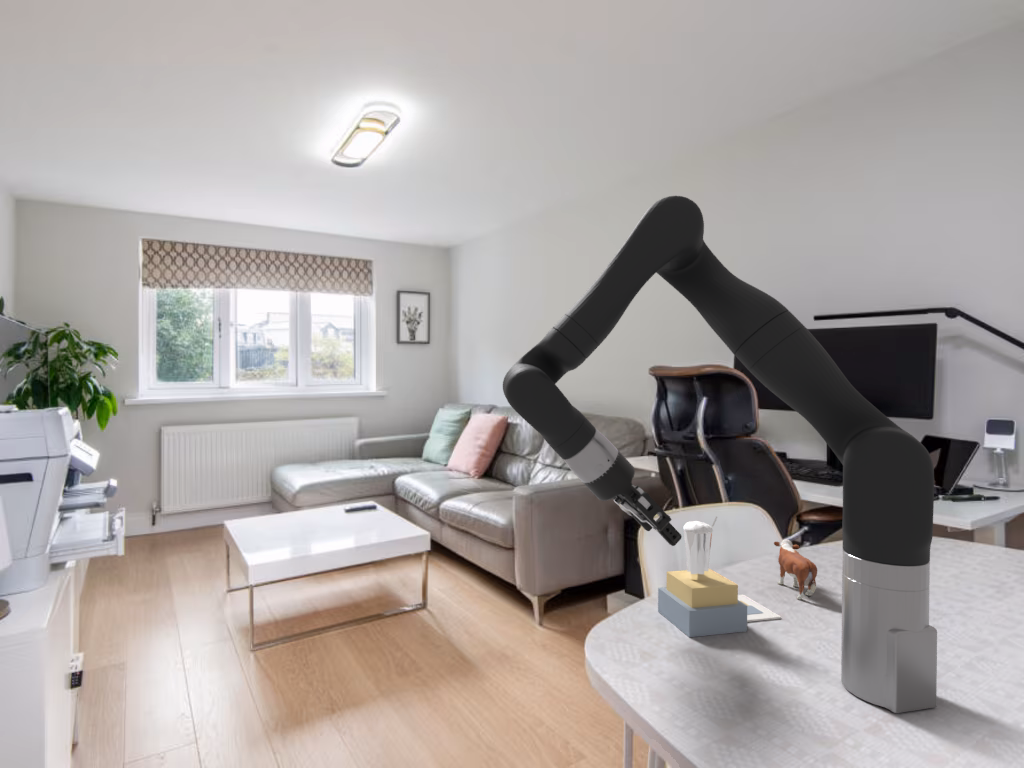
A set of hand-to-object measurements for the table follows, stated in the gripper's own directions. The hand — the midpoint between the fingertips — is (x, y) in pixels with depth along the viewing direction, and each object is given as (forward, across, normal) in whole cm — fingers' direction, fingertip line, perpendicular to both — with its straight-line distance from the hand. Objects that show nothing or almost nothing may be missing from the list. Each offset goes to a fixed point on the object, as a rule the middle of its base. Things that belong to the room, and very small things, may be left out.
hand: (663, 533), depth 92 cm
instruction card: (+22, +3, -2) cm, 22 cm away
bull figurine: (+32, +9, -12) cm, 36 cm away
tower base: (+15, 0, +5) cm, 16 cm away
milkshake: (+10, 0, +1) cm, 10 cm away
